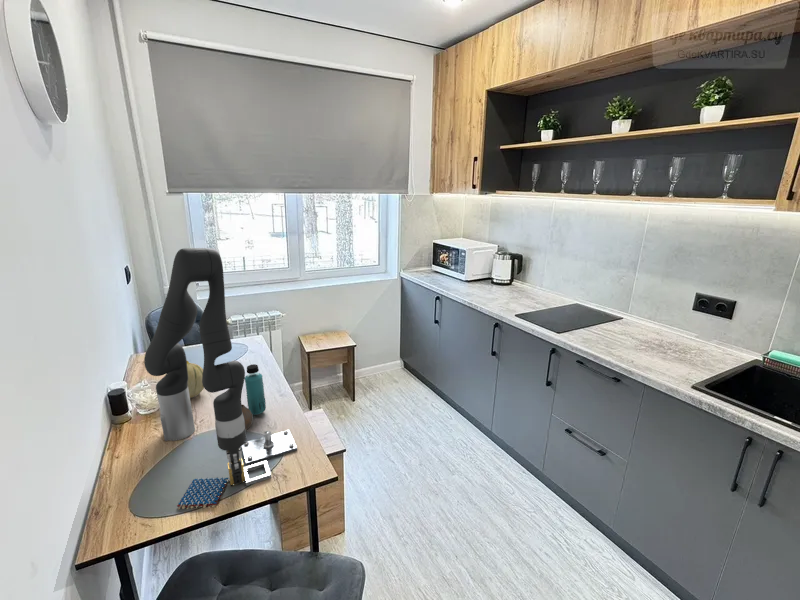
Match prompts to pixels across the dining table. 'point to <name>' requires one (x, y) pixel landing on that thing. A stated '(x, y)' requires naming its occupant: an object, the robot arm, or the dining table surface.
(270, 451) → the toggle switch
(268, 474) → the end link
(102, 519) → the dining table surface
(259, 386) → the beverage bottle
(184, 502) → the woven mat
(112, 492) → the dining table surface
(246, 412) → the vase
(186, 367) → the robot arm
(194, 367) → the cantaloupe
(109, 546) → the dining table surface
